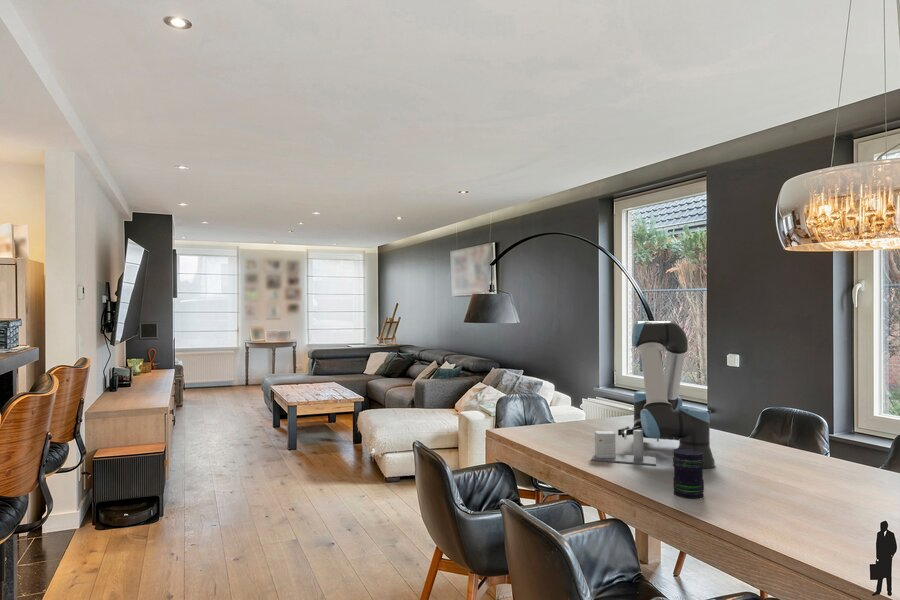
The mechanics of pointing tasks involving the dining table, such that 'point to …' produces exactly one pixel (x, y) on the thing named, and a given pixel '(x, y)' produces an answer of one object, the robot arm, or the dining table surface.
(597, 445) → the small box
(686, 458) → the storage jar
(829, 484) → the dining table surface
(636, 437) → the base plate with uprights
